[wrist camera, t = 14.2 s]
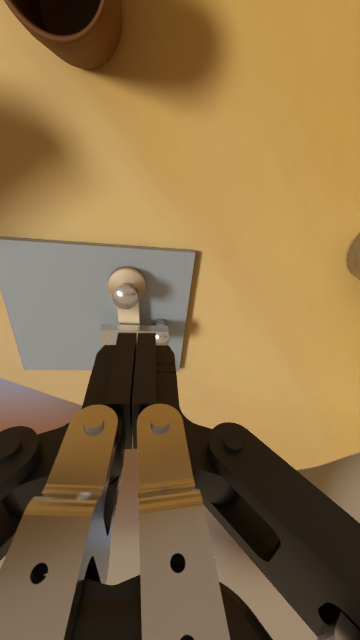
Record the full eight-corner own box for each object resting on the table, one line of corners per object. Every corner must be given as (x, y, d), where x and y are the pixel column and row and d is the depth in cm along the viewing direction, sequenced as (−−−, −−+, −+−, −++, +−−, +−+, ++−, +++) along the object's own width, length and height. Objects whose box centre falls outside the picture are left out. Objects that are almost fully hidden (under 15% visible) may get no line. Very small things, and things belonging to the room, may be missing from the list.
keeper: (172, 274, 38) (174, 289, 35) (167, 332, 44) (168, 351, 40) (101, 270, 37) (95, 286, 33) (104, 330, 43) (100, 349, 39)
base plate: (194, 250, 38) (195, 252, 37) (178, 367, 50) (178, 371, 49) (-11, 235, 34) (-15, 238, 34) (26, 365, 46) (24, 369, 46)
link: (107, 266, 37) (101, 285, 32) (145, 266, 37) (144, 285, 33) (118, 365, 47) (114, 390, 42) (147, 364, 47) (147, 389, 43)
